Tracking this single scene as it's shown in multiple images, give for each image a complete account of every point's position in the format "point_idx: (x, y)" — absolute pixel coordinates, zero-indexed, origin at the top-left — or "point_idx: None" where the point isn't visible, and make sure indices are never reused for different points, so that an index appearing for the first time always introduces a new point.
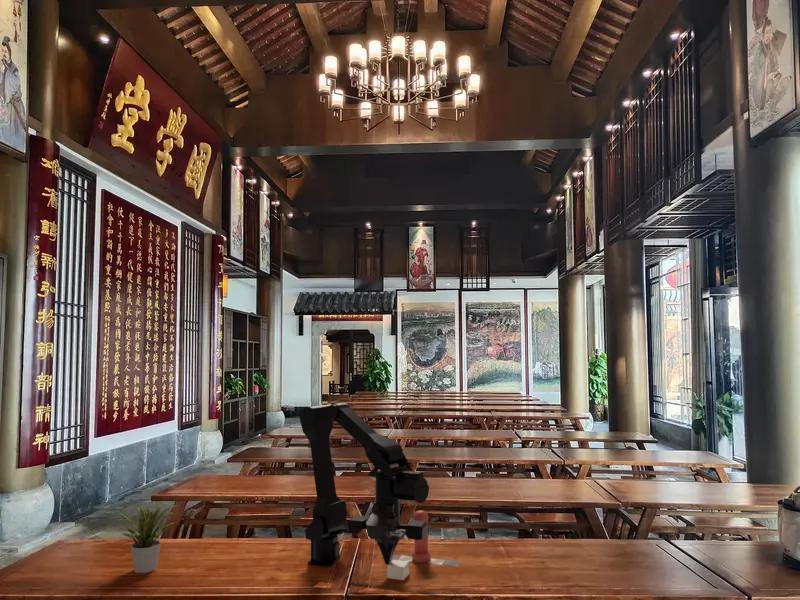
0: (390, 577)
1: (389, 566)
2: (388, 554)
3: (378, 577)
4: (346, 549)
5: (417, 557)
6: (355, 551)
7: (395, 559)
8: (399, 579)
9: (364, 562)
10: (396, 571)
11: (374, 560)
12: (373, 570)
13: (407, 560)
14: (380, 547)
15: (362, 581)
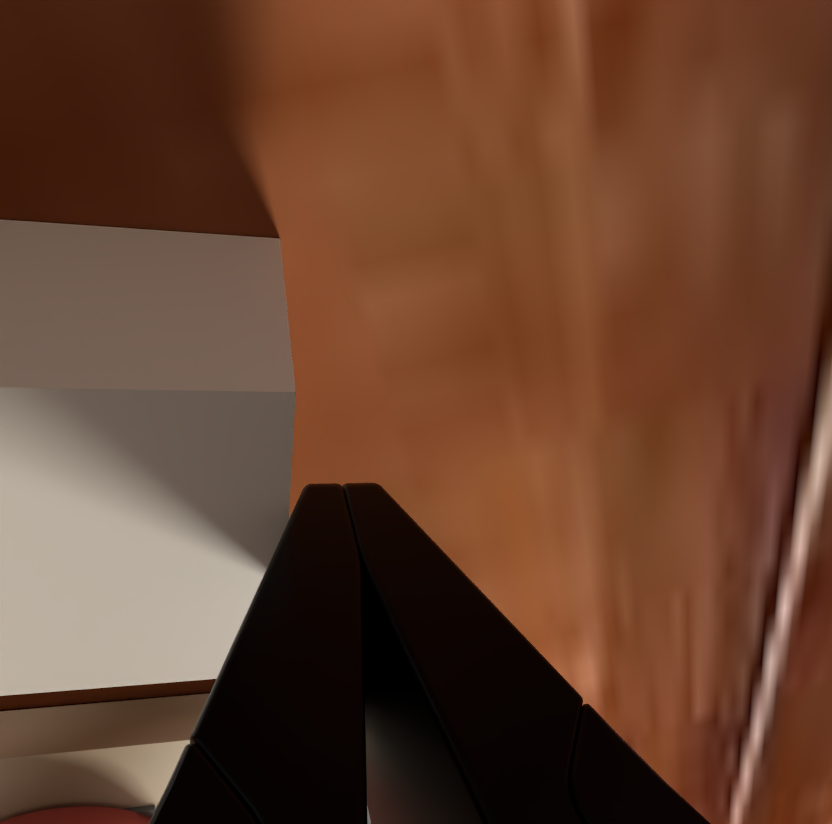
0: (219, 271)
1: (238, 381)
2: (308, 656)
3: (470, 402)
4: (809, 804)
5: None
6: (744, 803)
7: None
8: (19, 254)
9: (670, 682)
10: (50, 320)
11: None
12: (564, 563)
13: None
14: (659, 821)
15: (681, 212)
